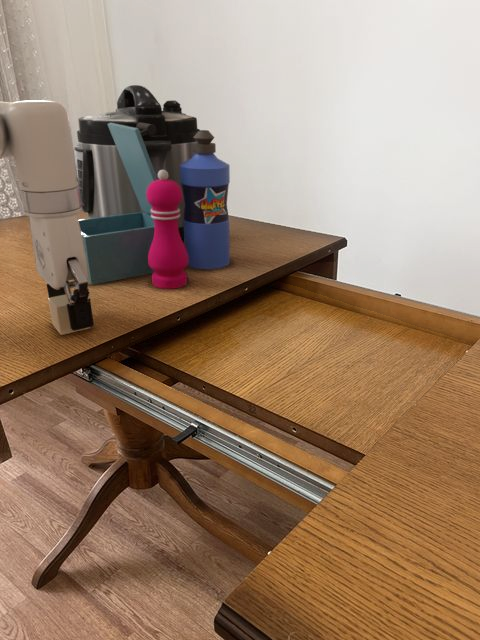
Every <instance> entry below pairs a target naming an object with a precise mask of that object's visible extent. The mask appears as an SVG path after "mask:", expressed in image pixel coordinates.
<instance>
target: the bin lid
mask: <svg viewBox="0 0 480 640" xmlns="http://www.w3.org/2000/svg"><path fill="white" fill-rule="evenodd" d="M108 127H109V129H110V132H111V134H112V137H113V139H114V142H115V144H116V147H117V149H118V152H119V154H120V157H121V159H122V162H123V164H124V167H125V169H126V172H127V174H128V177H129V179H130V181H131V184H132V186H133V189H134V191H135V194H136V196H137V199H138V201H139V204H140V206H141V209H142V210H143V211H145V212H148V213H150V214H151V211H150V210H151V209H152V206H151V205H150V204H149V202H148V201H147V197H146V192H147V188H148V186H149V185H150V184H151V183H152V182H153V181H155V180H158V179H157V177H156V174H155V171H154V169H153V166H152V163H151V161H150V158H149V155H148V152H147V150H146V147H145V144H144V142H143V139H142V136H144V135H146V134H148V135H154V134H155V133H156V127H155V126H154V125H151V124H146V123H141V122H140V123H138V124H137V125H136V128H134V127H129V126H124V125H120V124H115V123H109V124H108Z"/></svg>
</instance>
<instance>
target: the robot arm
mask: <svg viewBox="0 0 480 640" xmlns="http://www.w3.org/2000/svg"><path fill="white" fill-rule="evenodd" d="M72 135H73V134H72V128H71V122H70V117H69V113H68V109H67V108H66V107H65V105H64V104H62V103H60V102H59V101H54V100H19V101H13V102H10V101H2V100H1V101H0V160H1V159H2V160H3V159H6V158H12V159H13V162H14V167H15V168H14V169H15V172H16V173H15V174H16V178H17V183H18V188H19V193H20V198H21V203H22V208H23V213H24V216H27V217H28V218H29V224H30V233H31V240H32V247H33V254H34V259H35V260H34V261H35V267H36V272H37V273H38V275H39V276H40V277H41V278H42V280H43V281H45V284H46V291H47V294H48V298H51V297H56V296H61V295H66V296H67V299H68V302H69V304H67V310H68V316H69V321H70V327H71V329H72V330H73V331H76V330H80V329H84V328H88V327H90V328H91V327H93V326H94V325H95V323H94V316H93V309H92V303H91V302H92V301H91V296H90V293H91V292H90V290H89V288H88V287H89V282H88V268H87V261H86V255H85V249H84V244H83V239H82V234H81V228H80V225H79V221H78V220H79V217H78V214H80V213H82V211H83V209H82V203H81V196H80V190H79V183H78V176H77V170H76V166H77V164H76V159H75V148H74V144H73V136H72ZM71 289H73V292H72V290H71ZM72 293H73V295H72Z"/></svg>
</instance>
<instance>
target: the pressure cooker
mask: <svg viewBox="0 0 480 640" xmlns="http://www.w3.org/2000/svg"><path fill="white" fill-rule="evenodd" d="M182 109H183V108H182V107H181V103H179V102H178V101H177V100H166V101H165V103H163V104H162V105H161V103H160V102H159V101H158V99H157V98H156V97H155V96H154V94H153V93H152V91H150V90H149V89H148V88H147V87H146V86H143V85H138V84H133V85H128V86H126V87H125V88H124V89H123V90H122V91H121V93H120V95H119V96H118V99H117V101H116V108H115V111H108V112H101V113H95V114H91V115H90V114H89V115H86V116H81V117H78V118H77V120H78V121H77V122H78V129H79V130H77V131H76V137H77V144H76V145H75V146H73V149H74V156H75V163H76V170H77V176H78V183H79V190H80V196H81V203H82V211H83V213H84V214H85V213H87V217H88V218H87V219H89V218H97V217H104V216H112V215H120V214H128V213H136V212H145V211H143V210H142V209H141V206H140V204H139V201H138V199H137V196H136V194H135V191H134V189H133V186H132V184H131V181H130V179H129V177H128V174H127V172H126V169H125V167H124V164H123V162H122V159H121V157H120V154H119V152H118V149H117V147H116V144H115V142H114V139H113V137H112V134H111V132H110V129H109V127H108V124H109V123H115V124H120V125H124V126H129V127H134V128H136V125H137V124H138V123H140V122H141V123H146V124H151V125H154V126H155V127H156V133H155V134H154V135H148V134H146V135H144V136H142V139H143V142H144V144H145V147H146V150H147V152H148V155H149V158H150V161H151V163H152V166H153V169H154V171H155V174H156V177H157V179H158V180H159V178H158V172H159V171H160V170H166V171H167V172H168V179H169V180H172V181H174V182H176V183H177V184H178V185H179V187H180V188H181V191H182V201H181V202H180V204H179V205H178V208H179V209H180V212H179V214H180V217H179V218H178V230H179V234H180V237H181V239H184V224H183V219H184V208H185V202H184V195H183V189H182V183H181V180H180V164H182V163H184V162H185V161H187V160H189V159H191V158H192V157H193V155H194V154H195V153H194V152H193V143H197V141H196V140H195V139H194V138H193V137H194V136H195V135H196V133H197V132H198V131H199V130H201V129H199V128H198V119H197V117H196V116H191V115H187V114H186V113H183V111H182ZM146 213H148V212H146ZM148 214H150V213H148ZM150 215H151V214H150Z"/></svg>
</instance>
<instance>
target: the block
mask: <svg viewBox="0 0 480 640" xmlns="http://www.w3.org/2000/svg"><path fill="white" fill-rule="evenodd" d="M72 295H73V292H72ZM47 302H48V307H49V314H50V319H51V324H52V326H53V327H54V328H55V330H56V331H57V332H58V333H59V334H60V336H64V335H68V334H73V333H76V332H77V333H78V332H81V331H85V330H89V329H91V327H88V328H84V329H80V330H76V331H73V330H72V329H71V327H70V321H69V316H68V310H67V304H69V302H68V299H67V296H66V295H61V296H56V297H51V298H49V297H47Z"/></svg>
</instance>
